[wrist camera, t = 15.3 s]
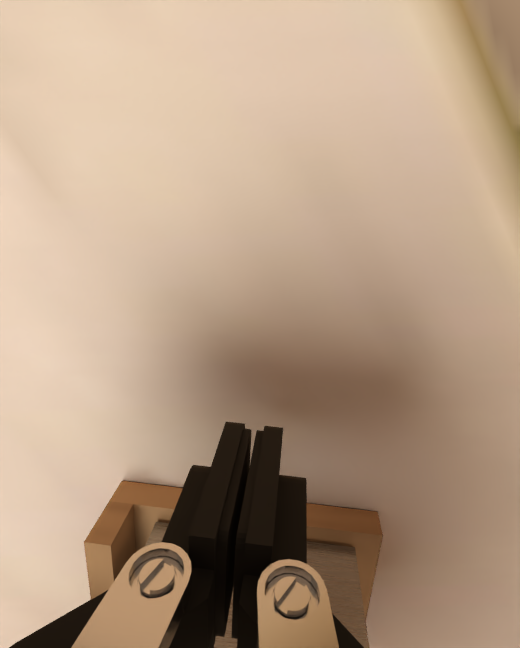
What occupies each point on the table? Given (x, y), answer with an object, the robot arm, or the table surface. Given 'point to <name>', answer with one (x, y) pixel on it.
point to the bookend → (338, 577)
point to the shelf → (158, 506)
